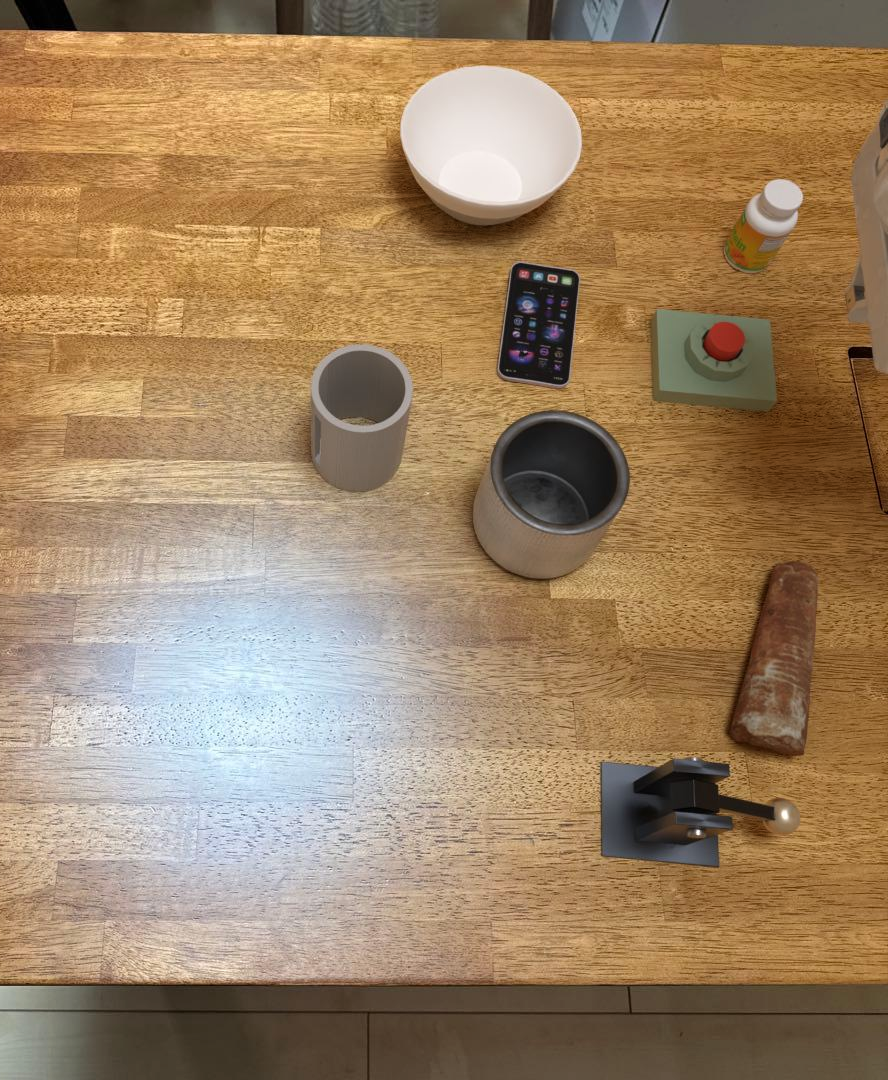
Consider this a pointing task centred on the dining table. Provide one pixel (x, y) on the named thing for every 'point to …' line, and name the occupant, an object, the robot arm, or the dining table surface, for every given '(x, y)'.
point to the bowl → (489, 142)
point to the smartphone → (539, 325)
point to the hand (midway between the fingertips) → (854, 308)
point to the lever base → (658, 813)
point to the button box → (711, 362)
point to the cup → (359, 391)
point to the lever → (733, 805)
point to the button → (724, 341)
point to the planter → (549, 493)
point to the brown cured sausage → (780, 664)
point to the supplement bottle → (763, 227)
